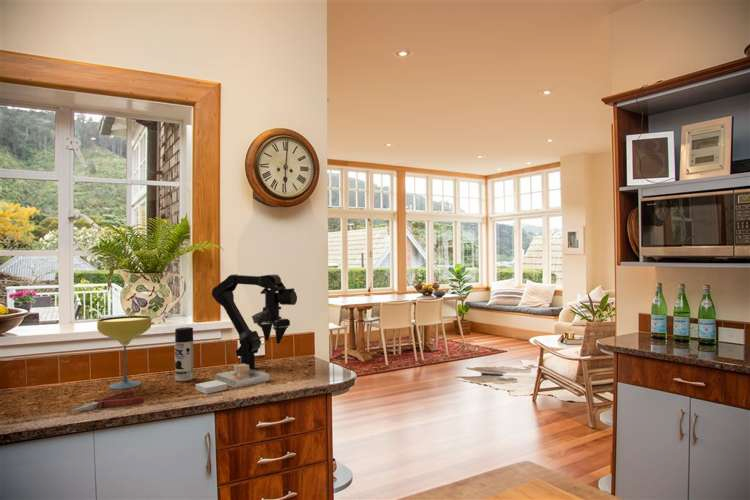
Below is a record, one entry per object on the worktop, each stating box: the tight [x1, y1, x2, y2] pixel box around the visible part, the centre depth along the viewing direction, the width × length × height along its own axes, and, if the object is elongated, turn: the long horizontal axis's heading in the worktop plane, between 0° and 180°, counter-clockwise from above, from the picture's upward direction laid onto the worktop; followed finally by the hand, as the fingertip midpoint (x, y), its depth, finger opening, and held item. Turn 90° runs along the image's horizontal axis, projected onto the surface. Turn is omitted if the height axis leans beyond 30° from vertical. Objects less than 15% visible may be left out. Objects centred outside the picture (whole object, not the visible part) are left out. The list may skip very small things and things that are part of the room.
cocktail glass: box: [96, 315, 152, 390], centre depth 180 cm, size 18×18×25 cm
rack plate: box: [214, 369, 270, 389], centre depth 185 cm, size 16×14×3 cm
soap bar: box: [195, 379, 228, 395], centre depth 172 cm, size 8×8×2 cm
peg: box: [233, 363, 249, 377], centre depth 185 cm, size 4×4×6 cm
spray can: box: [174, 326, 194, 382], centre depth 188 cm, size 7×7×20 cm
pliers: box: [68, 390, 145, 413], centre depth 155 cm, size 12×20×3 cm, turn 134°
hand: (272, 342), depth 201 cm, fingers open, 9 cm apart
